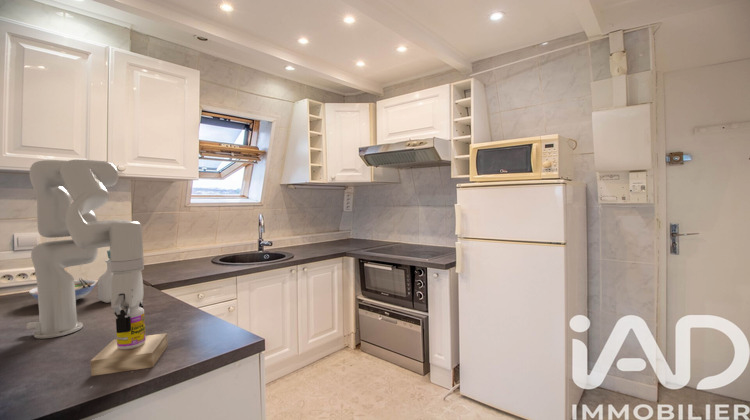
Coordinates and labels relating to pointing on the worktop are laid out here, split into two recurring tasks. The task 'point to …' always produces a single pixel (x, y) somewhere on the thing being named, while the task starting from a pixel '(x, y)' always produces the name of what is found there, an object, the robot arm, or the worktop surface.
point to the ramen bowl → (80, 288)
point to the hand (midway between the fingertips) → (130, 325)
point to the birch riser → (129, 356)
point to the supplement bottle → (133, 330)
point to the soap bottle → (105, 283)
